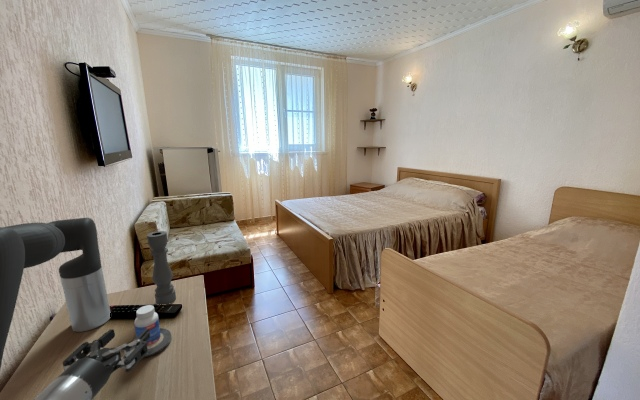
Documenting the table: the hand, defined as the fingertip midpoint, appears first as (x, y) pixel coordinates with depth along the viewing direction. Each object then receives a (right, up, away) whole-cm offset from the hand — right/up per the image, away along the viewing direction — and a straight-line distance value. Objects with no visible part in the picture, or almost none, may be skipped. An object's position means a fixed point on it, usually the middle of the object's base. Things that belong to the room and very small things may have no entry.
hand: (130, 332), depth 64 cm
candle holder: (-8, -3, +28) cm, 29 cm away
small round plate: (0, -8, +8) cm, 11 cm away
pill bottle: (0, -6, +8) cm, 10 cm away
